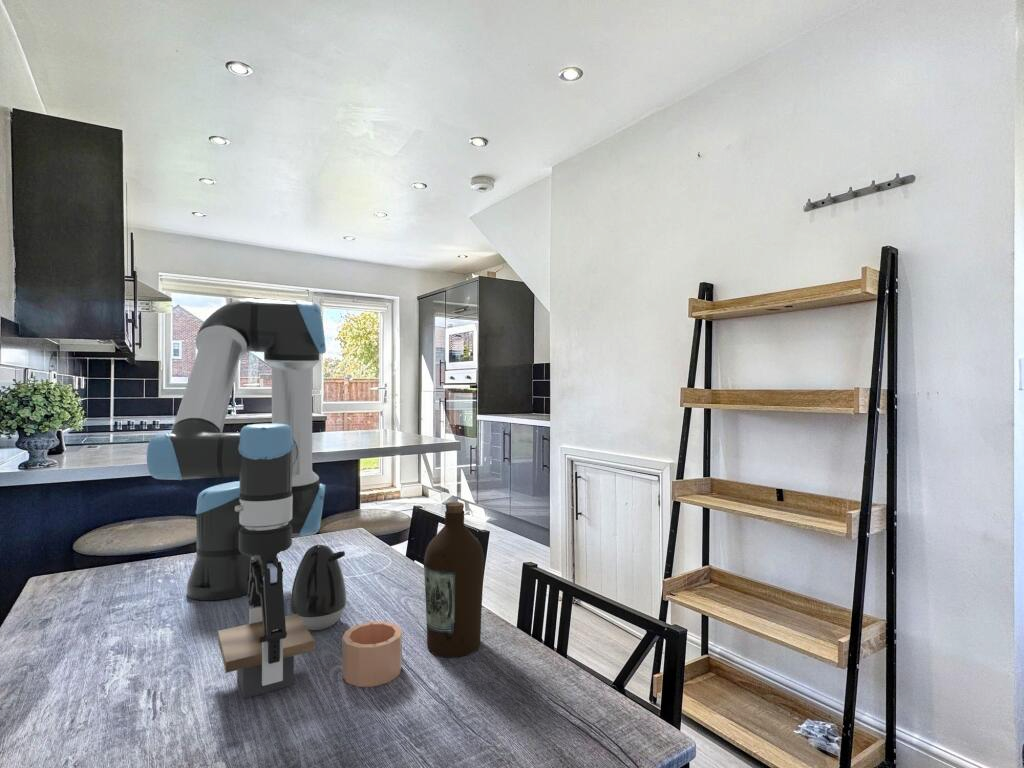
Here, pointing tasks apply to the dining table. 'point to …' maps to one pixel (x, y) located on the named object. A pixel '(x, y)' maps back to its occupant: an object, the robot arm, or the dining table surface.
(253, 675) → the block
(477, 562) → the olive oil
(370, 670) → the bowl
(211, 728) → the dining table surface
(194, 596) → the robot arm
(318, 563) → the pump dispenser
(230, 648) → the lid
